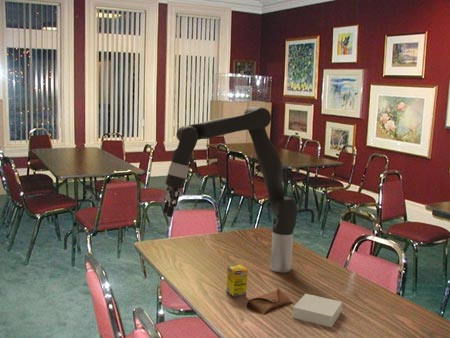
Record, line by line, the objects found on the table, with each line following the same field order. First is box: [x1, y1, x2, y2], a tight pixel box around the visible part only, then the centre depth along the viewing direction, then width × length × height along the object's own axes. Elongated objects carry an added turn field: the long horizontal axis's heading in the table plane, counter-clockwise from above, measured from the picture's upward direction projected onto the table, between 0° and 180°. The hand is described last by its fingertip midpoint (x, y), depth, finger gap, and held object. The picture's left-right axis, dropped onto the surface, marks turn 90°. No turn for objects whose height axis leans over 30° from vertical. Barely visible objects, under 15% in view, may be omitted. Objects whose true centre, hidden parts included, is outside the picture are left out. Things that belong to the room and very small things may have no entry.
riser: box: [292, 293, 343, 328], centre depth 184 cm, size 14×14×4 cm
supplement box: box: [225, 264, 249, 299], centre depth 198 cm, size 6×6×11 cm
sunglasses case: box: [246, 288, 294, 316], centre depth 191 cm, size 18×7×7 cm, turn 135°
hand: (167, 214), depth 202 cm, fingers open, 8 cm apart
